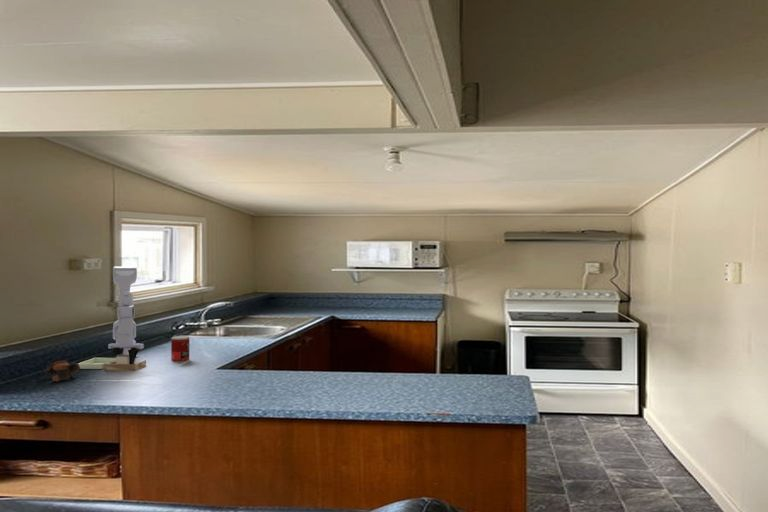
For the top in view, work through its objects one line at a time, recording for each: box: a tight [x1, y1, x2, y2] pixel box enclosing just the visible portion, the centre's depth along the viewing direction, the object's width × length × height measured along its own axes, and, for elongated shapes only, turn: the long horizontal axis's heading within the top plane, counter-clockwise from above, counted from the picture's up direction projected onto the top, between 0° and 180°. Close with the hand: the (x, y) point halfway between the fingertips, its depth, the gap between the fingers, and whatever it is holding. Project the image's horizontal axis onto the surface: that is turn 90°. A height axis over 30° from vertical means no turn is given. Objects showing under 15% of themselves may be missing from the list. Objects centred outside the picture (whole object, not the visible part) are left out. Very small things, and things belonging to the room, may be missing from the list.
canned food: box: [170, 335, 190, 362], centre depth 239 cm, size 8×8×11 cm
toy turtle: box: [44, 360, 80, 382], centre depth 204 cm, size 12×10×8 cm
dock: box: [104, 359, 147, 372], centre depth 221 cm, size 10×13×3 cm
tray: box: [77, 357, 117, 370], centre depth 225 cm, size 13×11×2 cm
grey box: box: [115, 352, 136, 364], centre depth 221 cm, size 8×5×6 cm, turn 179°
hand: (125, 365), depth 221 cm, fingers closed on grey box, 4 cm apart
